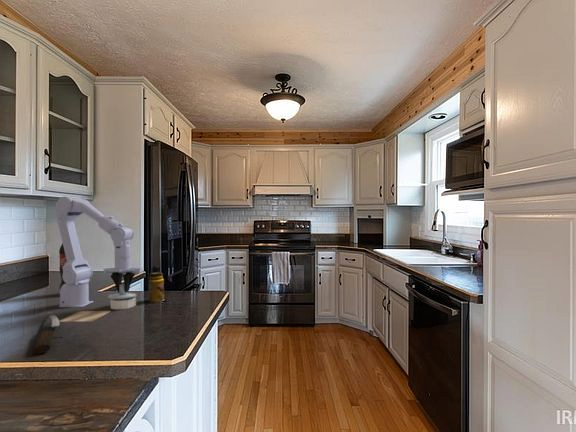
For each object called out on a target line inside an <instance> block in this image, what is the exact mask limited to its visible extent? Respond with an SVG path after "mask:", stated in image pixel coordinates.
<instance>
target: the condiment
mask: <svg viewBox="0 0 576 432" xmlns="http://www.w3.org/2000/svg"><path fill="white" fill-rule="evenodd" d="M163 275H164V274H163V272H162V271H154V272H150V273H149V277H148V278H149V279H148V300H149V301H148V302H150V303H159V302H162V301H164V300H165V279H164V277H163Z"/></svg>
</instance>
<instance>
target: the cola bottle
mask: <svg viewBox="0 0 576 432" xmlns="http://www.w3.org/2000/svg"><path fill="white" fill-rule="evenodd" d="M58 253H59V267H58V268H59V273H60V279H61V282H60V284H59V290H60V289H61V287H62V285H64V284H66V283H65V282H64V280H63V277H62V276H63V268H62V267H63V266H64V265H65V264H66V262H67V259H66V255H65V251H64V247H63V242H62V243H61V246H60V247H59V251H58ZM75 267H77V266H75ZM75 267H74V268H75Z"/></svg>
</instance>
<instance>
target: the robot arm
mask: <svg viewBox="0 0 576 432" xmlns="http://www.w3.org/2000/svg"><path fill="white" fill-rule="evenodd" d="M55 208H56V213H57V215H56V216H57V217H56V221H57V225H58V230H59V234H60V237H61V242H62V243H63V247H64V251H65V255H66V259H67V262H66V264H65V265H64V266H63V267H62V268H63V276H62V277H63V280H64V282H65V283H66V284H64V285H62V287H61V289H60V288H59V306H58V307H59V308H81V307H85V306H87V305H89V304H91V303H94V301H93V300H89V297H90V295H89V294H90V293H89V288H90V287H89V285H90V284H89V282H90V280H91V278H92V277H93V273H94V271H93V269H92V267H91V266H90V263H89V261H88V260H87V259H85V258H83V254H82V250H81V245H80V241H79V237H78V232H77V230H76V225H75V221H76V219H77V218H78V217H80V216H81V215H82V214H84V215H85V216H88V217H89V218H91V219H93V220H94V221H95V222H97V223H98V227H99V228H100V229H102V230H103V231H104V232H105V233H107V234H108V235H110V239H111V240H112V242H113V246H114V267H106V268H103V274H104V275H105V274H111V275H110V278H111V280H112V281H113V283H114V286H115V288H116V292H118V293H119V285H120V284H125V292H126V293H129V291H130V288H131V283H132V281H133V279H134V277H135V275H136V274H142V273H143V267H134V266H133V267H132V265H131V264H132V263H131V260H132V257H131V255H132V253H131V251H132V250H131V240H132V239H133V238H134V231H133V229H132V228H131V227H130V226H124V224H123V223H121V222H119V221H117V220H116V219H115V217H114V216H112V215H104V214H103V213H102V212H101V211H99V210H98V209H97V208H96V207H95V206H93V205H92V204H91V202H90V201H89V200H87V199H86V198H84V197H82V196H81V197H72V196H61V197H60V198H58V200H57V201H56V203H55ZM75 266H77V267H75ZM74 267H75V268H74ZM123 282H124V283H123Z"/></svg>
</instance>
